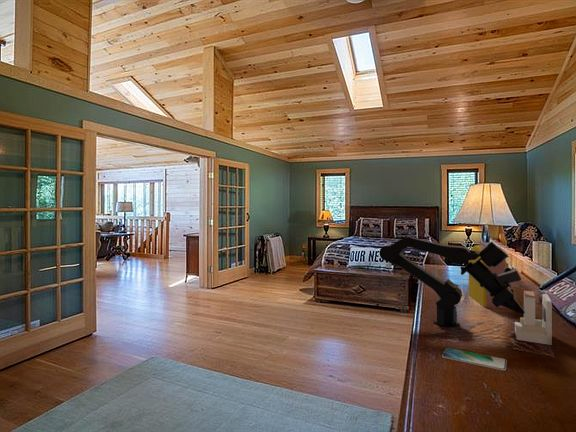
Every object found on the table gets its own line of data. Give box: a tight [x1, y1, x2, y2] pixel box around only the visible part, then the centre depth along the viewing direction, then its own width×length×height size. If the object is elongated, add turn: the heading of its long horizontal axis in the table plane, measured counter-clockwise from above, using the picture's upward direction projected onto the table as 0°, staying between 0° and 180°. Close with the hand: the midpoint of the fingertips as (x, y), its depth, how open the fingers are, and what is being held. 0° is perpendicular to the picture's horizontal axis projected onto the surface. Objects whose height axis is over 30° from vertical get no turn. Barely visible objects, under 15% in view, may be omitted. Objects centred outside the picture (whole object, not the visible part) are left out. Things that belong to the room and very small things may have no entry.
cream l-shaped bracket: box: [514, 293, 553, 346], centre depth 110 cm, size 9×11×13 cm
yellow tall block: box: [468, 242, 508, 309], centre depth 153 cm, size 21×9×26 cm, turn 168°
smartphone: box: [441, 347, 508, 372], centre depth 93 cm, size 7×1×15 cm
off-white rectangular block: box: [523, 290, 536, 326], centre depth 110 cm, size 2×7×11 cm, turn 149°
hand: (523, 313), depth 111 cm, fingers closed, pressing on off-white rectangular block
